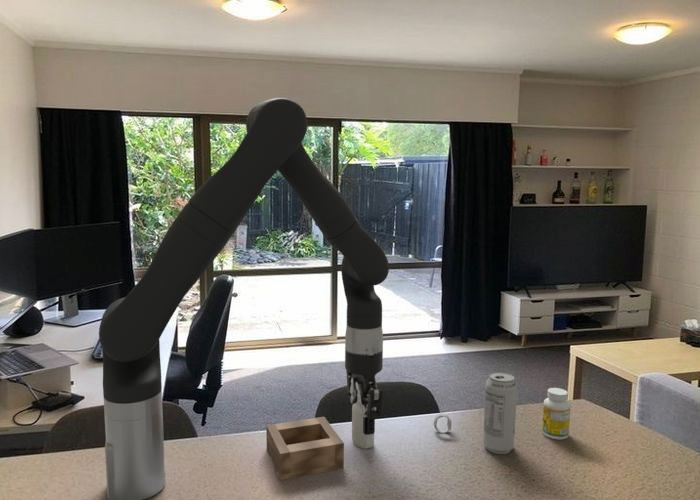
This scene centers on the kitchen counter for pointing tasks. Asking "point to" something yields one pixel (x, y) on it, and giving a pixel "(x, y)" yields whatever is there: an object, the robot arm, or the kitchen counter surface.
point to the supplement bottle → (556, 414)
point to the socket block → (304, 447)
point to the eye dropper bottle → (360, 427)
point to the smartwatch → (447, 422)
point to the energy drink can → (500, 413)
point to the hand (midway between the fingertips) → (363, 426)
